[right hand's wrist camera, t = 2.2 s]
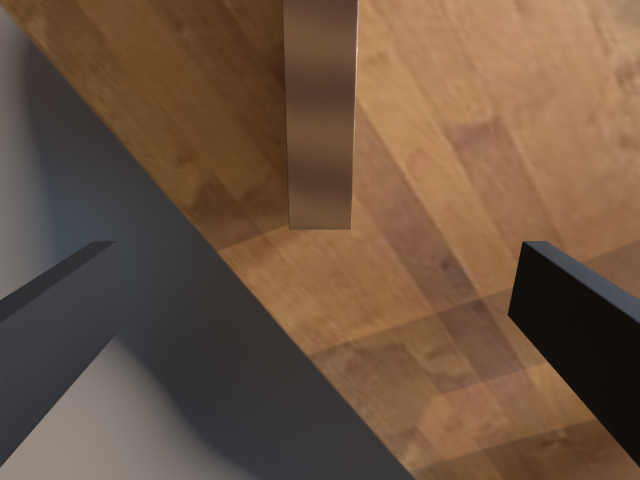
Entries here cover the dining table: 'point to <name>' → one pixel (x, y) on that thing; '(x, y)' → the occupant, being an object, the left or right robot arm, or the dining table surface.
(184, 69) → the dining table surface
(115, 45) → the dining table surface
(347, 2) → the post
